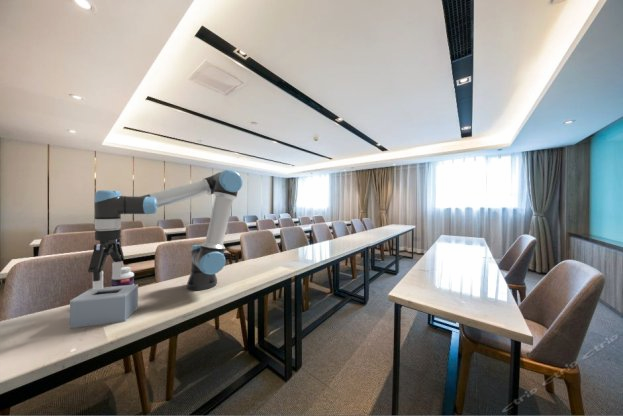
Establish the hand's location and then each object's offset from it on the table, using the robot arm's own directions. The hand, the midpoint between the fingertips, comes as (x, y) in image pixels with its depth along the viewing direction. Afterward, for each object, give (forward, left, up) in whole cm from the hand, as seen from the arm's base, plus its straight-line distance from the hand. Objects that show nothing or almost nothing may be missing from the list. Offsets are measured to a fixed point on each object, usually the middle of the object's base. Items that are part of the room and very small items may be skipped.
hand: (108, 282), depth 85 cm
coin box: (0, 0, -13) cm, 14 cm away
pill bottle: (+2, -18, -14) cm, 23 cm away
